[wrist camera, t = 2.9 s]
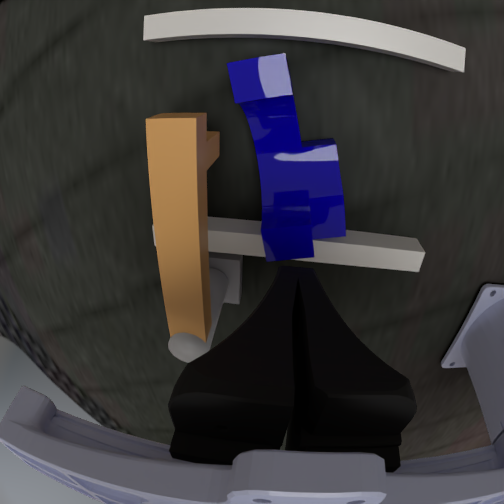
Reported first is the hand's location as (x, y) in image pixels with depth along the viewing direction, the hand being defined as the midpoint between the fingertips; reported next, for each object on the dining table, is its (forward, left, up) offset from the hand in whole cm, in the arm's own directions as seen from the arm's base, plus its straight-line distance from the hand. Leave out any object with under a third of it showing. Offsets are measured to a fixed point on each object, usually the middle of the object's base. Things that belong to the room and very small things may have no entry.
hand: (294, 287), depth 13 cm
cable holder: (0, -5, -5) cm, 7 cm away
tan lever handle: (+4, -1, -4) cm, 6 cm away
